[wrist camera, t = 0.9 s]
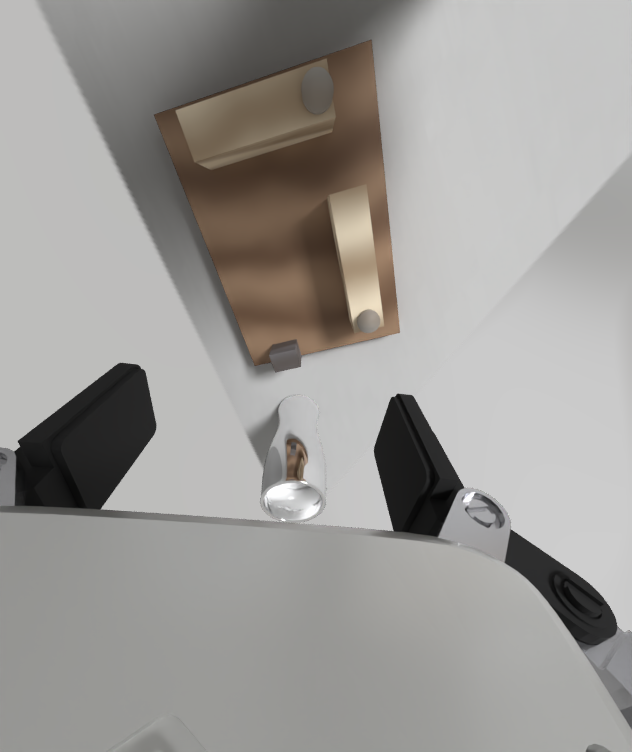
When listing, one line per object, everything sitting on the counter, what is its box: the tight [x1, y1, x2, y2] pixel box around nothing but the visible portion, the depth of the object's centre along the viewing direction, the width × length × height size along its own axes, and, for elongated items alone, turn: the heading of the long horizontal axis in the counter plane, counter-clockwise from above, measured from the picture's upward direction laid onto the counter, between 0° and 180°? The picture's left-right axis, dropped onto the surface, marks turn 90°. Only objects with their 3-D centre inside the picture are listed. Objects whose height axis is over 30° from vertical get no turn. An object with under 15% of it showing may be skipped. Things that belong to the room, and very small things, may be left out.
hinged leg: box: [327, 184, 384, 333], centre depth 26 cm, size 12×3×5 cm, turn 14°
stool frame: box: [154, 40, 400, 372], centre depth 26 cm, size 24×18×7 cm
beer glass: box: [260, 395, 326, 523], centre depth 34 cm, size 7×7×15 cm
